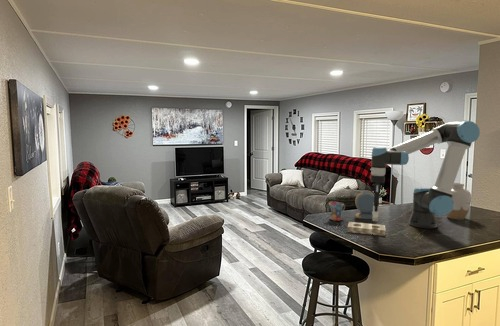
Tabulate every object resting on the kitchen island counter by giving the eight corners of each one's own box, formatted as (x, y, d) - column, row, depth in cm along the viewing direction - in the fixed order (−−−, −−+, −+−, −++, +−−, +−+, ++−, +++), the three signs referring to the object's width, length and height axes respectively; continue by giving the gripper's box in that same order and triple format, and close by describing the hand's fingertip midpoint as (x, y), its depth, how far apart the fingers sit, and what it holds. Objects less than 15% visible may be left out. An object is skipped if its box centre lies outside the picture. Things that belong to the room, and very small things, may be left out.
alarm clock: (375, 215, 229) (376, 189, 227) (378, 219, 219) (379, 192, 217) (353, 214, 231) (354, 189, 229) (355, 218, 222) (356, 191, 220)
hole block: (384, 230, 195) (384, 225, 194) (385, 235, 185) (385, 230, 184) (348, 226, 202) (349, 221, 201) (347, 231, 191) (347, 226, 191)
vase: (465, 222, 212) (467, 186, 209) (438, 217, 223) (440, 183, 221) (473, 218, 222) (475, 184, 220) (447, 213, 234) (449, 181, 232)
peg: (377, 220, 192) (378, 203, 191) (377, 221, 189) (379, 204, 188) (372, 219, 193) (373, 202, 192) (372, 221, 190) (373, 203, 189)
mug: (335, 222, 211) (335, 205, 210) (325, 218, 219) (326, 202, 218) (349, 220, 217) (350, 203, 215) (339, 216, 225) (340, 201, 224)
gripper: (370, 173, 197) (368, 212, 199) (370, 176, 182) (368, 218, 184) (384, 173, 194) (382, 213, 196) (385, 177, 180) (383, 220, 182)
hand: (375, 216), depth 190 cm, fingers closed on peg, 2 cm apart
